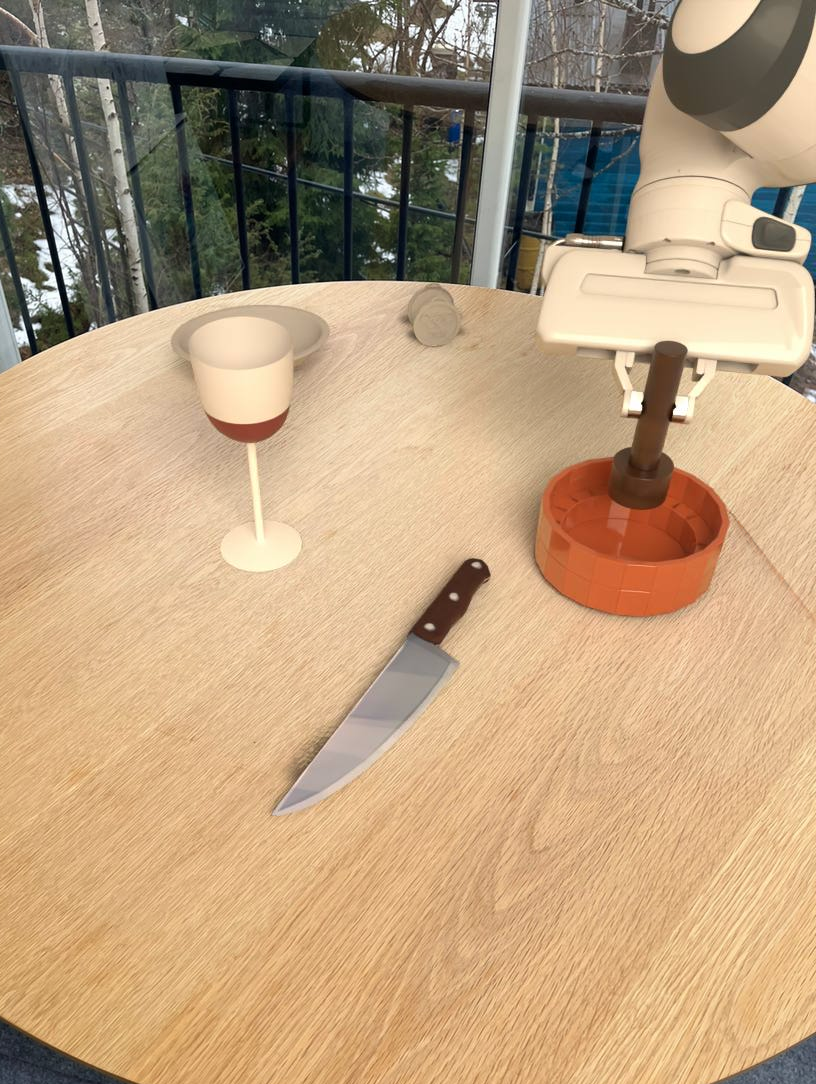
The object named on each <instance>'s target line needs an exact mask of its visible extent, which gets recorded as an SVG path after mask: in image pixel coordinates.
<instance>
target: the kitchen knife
mask: <svg viewBox="0 0 816 1084" xmlns="http://www.w3.org/2000/svg"><path fill="white" fill-rule="evenodd" d="M491 577H492V574H491V571H490V568H489V566H488V564H487V563H486V562H485V561H484V560H483V559H481V558H474V557H471V558H468V559H466V560H464V561H463V562H462V564H461V565H460V567H458V569H457V570H456V571H455V573H454V574H453V575H452V577H451V578H450V579H449V580H448V582H447V583H446V584H445V585H444V586H443V588H442V589H441V590H440V592H439V593H438V594H437V596H436V597H435V598H434V600H433V601H432V602H431V604H430V605H428V607H427V609H426V610H425V611H424V612H423V613H422V615H421V616H420V617H419V618H418V620H417V621H416V622H415V623H414V625H413V626H412V627H411V629H410V630H409V632H408V633H407V634H408V635H407V637H406V639H405V641H404V642H403V643H402V644H401V646H400V647H399V648H398V650H397V651H396V652H395V653H394V655H392V657H391V659H390V660H389V661H388V662H387V663H386V665H385V666H384V668H383V669H382V670H381V672H380V673H379V674H378V675H377V676H376V678H375V679H374V680H373V682H372V683H371V684H370V686H369V687H368V688H367V689H366V691H365V692H364V693H363V695H361V697H360V699H359V700H358V701H357V702H356V704H355V705H354V706H353V707H352V709H351V710H350V711H349V713H348V714H346V716H345V718H344V719H343V720H342V722H341V723H340V724H339V725H338V726H337V728H336V729H335V731H333V733H332V734H331V736H330V737H329V739H328V740H327V741H326V742H325V743H324V744H323V746H322V747H321V748H320V750H319V751H318V752H317V754H316V755H315V756H314V757H313V759H312V760H311V761H310V763H309V764H307V767H306V768H305V769H304V770H303V771H302V773H301V774H300V776H299V777H298V778H297V780H296V781H294V782H293V785H292V786H291V787H290V788H289V789H288V791H287V792H286V794H285V795H284V796H283V797H282V799H281V800H280V801H279V802H278V804H277V805H276V806H275V808H274V809H273V810H272V812H271V813H270V816H274V817H279V816H284V815H288V814H293V813H297V812H300V811H302V810H305V809H307V808H310V807H312V806H314V805H316V804H318V803H319V802H322V801H323V800H325V799H327V798H328V797H330V796H332V795H333V794H335V793H336V792H338V791H339V790H341V789H343V788H344V787H346V786H347V785H348V784H350V783H351V782H352V781H354V780H355V779H356V778H357V777H359V776H360V775H361V774H362V773H364V772H366V770H368V769H369V768H370V767H372V766H373V765H374V764H375V763H376V762H377V761H378V760H379V759H380V758H381V757H382V756H383V755H384V754H385V753H386V752H387V751H388V750H389V749H391V747H393V746H394V744H396V743H397V742H398V740H399V739H400V738H401V737H402V736H403V735H405V733H406V732H407V731H408V730H409V729H411V727H412V726H413V725H414V724H415V723H416V722H417V721H418V719H419V718H420V717H421V716H422V715H423V714H424V712H425V711H426V710H427V709H428V708H429V706H430V705H431V704H432V703H433V702H434V701H435V699H436V698H437V696H438V695H439V693H441V691H442V690H443V688H444V687H445V686H446V684H447V683H448V682H449V680H450V678H451V677H452V676H453V675H454V674H455V672H456V670H457V669H458V667H459V666H460V664H461V662H459V661H458V660H457V659H455V658H454V657H453V656H451V655H450V654H448V653H447V652H446V651H445V650H443V649H442V648H441V647H440V646H441V644H442V642H443V641H444V640H445V638H446V636H448V634H449V632H450V631H451V629H452V628H454V626H455V625H456V624H457V623H458V622H459V621H460V620H461V619H462V618H463V617H464V616H465V614H466V612H467V611H468V609H469V606H470V605H471V601H472V599H473V598H474V595H475V594H476V593H477V592H478V590H479V589H480V588H481V586H482V585H484V584H486V583H488V582H489V581H490V580H491Z"/></svg>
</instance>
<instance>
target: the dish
mask: <svg viewBox="0 0 816 1084" xmlns="http://www.w3.org/2000/svg"><path fill="white" fill-rule="evenodd" d="M230 317H256V318H262V319H267V320H270V321H273V322H275V323H278V324H280V325H281V326H283V327H284V328H286V329H287V330H288V331H289V333H290V334H291V336H292V339H293V369H295V368H297V367H298V366H299V365H301V364H303V362H304V361H306V360H308V358H309V357H310V356H311V355H312V354H314V353H315V352H316V351H318V350H319V349H321V348H322V347H323V346H324V345H325V344H326V342H327V341H328V340H329V337H330V333H331V330H330V325H329V324H328V323H327V321H326V320H325V319H324V318H322V317H321V316H320V315H318V314H316V313H314V312H312V311H309V310H306V309H303V308H298V307H293V306H288V305H278V304H249V305H237V306H232V307H226V308H220V309H217V310H212V311H209V312H206V313H203V314H201V315H198V316H196V317H193V318H191V319H189V320H187V321H186V322H184V323H183V324H181V325H180V326H178V328H176V330H174V332H173V333H172V336H171V338H170V345H171V348H172V350H173V352H174V353H175V354H176V355H177V356H178V357H180V358H181V359H183V360H185V361H187V362H190V363H191V358H190V352H189V346H188V345H189V340H190V337H191V336H192V335H193V333H194V332H195V331H196V330H198V329H199V328H201V327H202V326H204V325H206V324H208V323H210V322H213V321H216V320H220V319H224V318H230Z"/></svg>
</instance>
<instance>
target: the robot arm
mask: <svg viewBox="0 0 816 1084" xmlns="http://www.w3.org/2000/svg"><path fill="white" fill-rule="evenodd" d="M638 153H639V154H638V155H639V161H640V171H639V177H638V180H637V181H636V184H635V186H634V188H633V190H632V193H631V196H630V203H629V210H628V214H627V215H628V216H627V222H626V228H625V233H624V236H617V235H616V236H614V235H585V234H584V233H576V232H575V233H567V234H566V235H565V237H562V238H558V239H556V240H554V241H553V242H551V243H550V244H549V245H548V246H547V248H546V249H545V251H544V253H543V257H542V263H541V268H540V279H541V282H542V284H543V286H544V287H545V290H544V293H543V297H542V301H541V304H540V307H539V313H538V317H537V320H536V327H535V335H534V341H535V343H536V345H537V347H538V349H539V350H540V352H541V353H542V354H545V355H553V356H564V357H573V358H574V357H575V358H585V359H593V360H603V361H604V360H606V361H613V362H612V370H611V375H612V379H613V381H614V382H615V385H616V387H617V389H618V392H619V395H620V396H621V404H620V411H619V418H624V419H634V420H638V419H639V417H640V415H641V410H642V405H641V403H642V402H643V398H644V391H642V390H641V391H640V390H635V389H634V387H633V385H632V382H631V378H630V376H629V375H631V372H632V369H633V368H634V367H633V366H634V363H636V364H645V365H650V363H651V359H652V354H653V350H654V346H655V345H656V344H657V343H658V342H661V341H675V342H679V343H682V344H683V345H685V346H686V347H687V349H688V353H687V356H686V360H685V364H684V368H685V369H692V371H691V382H694V383H696V384H695V385H694V386H693V388H692V389H691V390H690V391H689V393H687V395H678V394H677V396H676V399H675V403H674V408H673V412H672V415H671V419H670V423H673V424H679V425H690V424H691V422H692V420H693V417H694V410H695V404H696V401H697V399H698V398H699V397H700V396H701V394H702V393H703V392H704V391H705V389H706V388H707V387H708V386H709V385H710V383H712V380H713V379H714V377H715V376H716V372H725V373H738V374H745V375H746V374H747V375H757V376H767V377H776V378H777V377H779V378H787V377H790V376H791V375H792V374H794V373H795V372H796V371H798V370H799V369H800V368H801V367H802V366H803V365H804V364H805V363H806V361H807V360H808V358H809V357H810V354H811V351H812V347H813V339H814V331H815V330H814V329H815V312H816V297H815V296H816V295H815V292H816V291H815V284H814V281H813V277H812V275H811V273H810V272H809V270H808V269H807V268H806V267H805V266H803V265H804V264H805V261H806V259H807V258H808V254H809V252H810V249H811V245H812V233H811V232H810V231H809V230H808V229H807V228H805V227H803V226H801V225H798V224H796V223H793V222H790V221H787V220H785V219H783V218H780V217H778V216H775V215H772V214H770V213H768V212H765V211H762V210H761V209H759V208H756V207H754V206H752V205H751V203H752V197H753V195H754V193H755V192H756V191H757V190H758V189H760V188H762V189H768V190H769V189H770V190H774V189H787V188H788V189H789V188H797V187H803V186H808V185H815V184H816V0H678V1H677V3H676V5H675V7H674V9H673V11H672V14H671V16H670V18H669V22H668V25H667V28H666V32H665V36H664V43H663V51H662V55H661V57H660V59H659V62H658V63H657V67H656V69H655V72H654V74H653V77H652V81H651V85H650V88H649V91H648V96H647V100H646V105H645V110H644V116H643V121H642V126H641V133H640V138H639V145H638Z"/></svg>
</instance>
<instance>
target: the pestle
mask: <svg viewBox="0 0 816 1084" xmlns="http://www.w3.org/2000/svg"><path fill="white" fill-rule="evenodd" d="M687 353H688V349H687V347H686V346H685V345H683V344H682V343H679V342H675V341H661V342H658V343H657V344H656V345H655V346H654V350H653V354H652V359H651V363H650V364H649V368H648V373H647V377H646V381H645V386H644V390H643V392H644V398H643V402H642V403H641V405H642V410H641V415H640V417H639V419H637V420H636V424H635V425H636V426H635V430H634V434H633V438H632V442H631V446H628V447H624V448H622V449H620V450H618V451H617V452H616V453H615V454H614V456H613V457H614V458H613V462H612V467H611V472H610V476H609V481H608V486H607V493H608V495H609V497H610V498H611V499H612V500H613V501H614V502H616V503H617V504H619V505H621V506H623V507H626V508H630V509H635V510H649V509H653V508H656V507H658V506H660V505H662V504H663V503H664V501H665V500H666V497H667V493H668V489H669V485H670V482H671V478H672V474H673V470H674V467H675V463H674V461H673V459H672V458H671V457H670V456H669V455H668V454H666V453H664V452H663V451H664V446H665V442H666V440H667V435H668V431H669V427H670V423H671V422H670V419H671V415H672V412H673V408H674V403H675V399H676V396H677V395H678V391H679V387H680V383H681V380H682V376H683V372H684V368H685V367H684V364H685V360H686V356H687Z"/></svg>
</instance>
